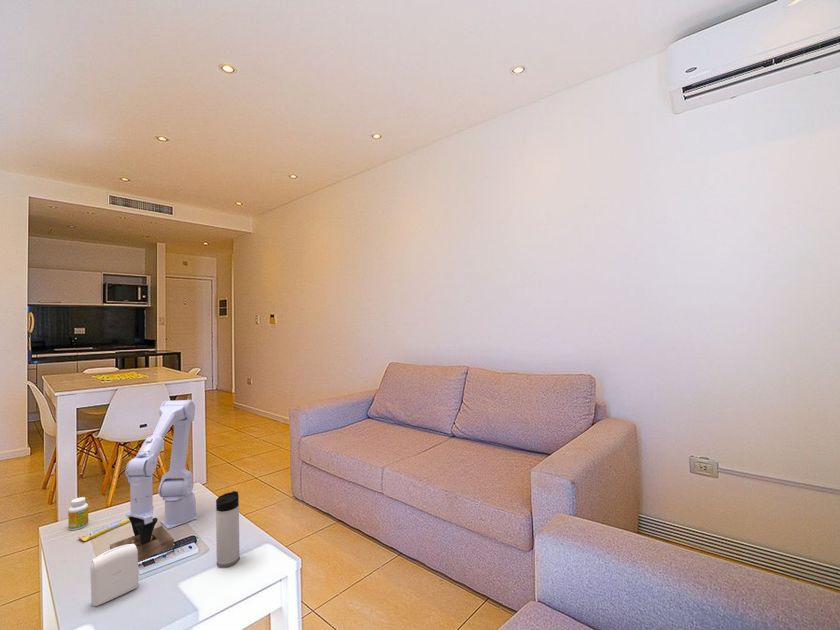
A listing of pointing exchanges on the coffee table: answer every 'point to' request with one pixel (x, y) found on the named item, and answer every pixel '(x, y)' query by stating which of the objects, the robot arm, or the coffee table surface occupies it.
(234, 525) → the travel mug
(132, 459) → the robot arm
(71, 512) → the supplement bottle
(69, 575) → the coffee table surface
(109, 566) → the photo printer
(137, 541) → the tan flat rectangular block
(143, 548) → the walnut coin box
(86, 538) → the candy bar
